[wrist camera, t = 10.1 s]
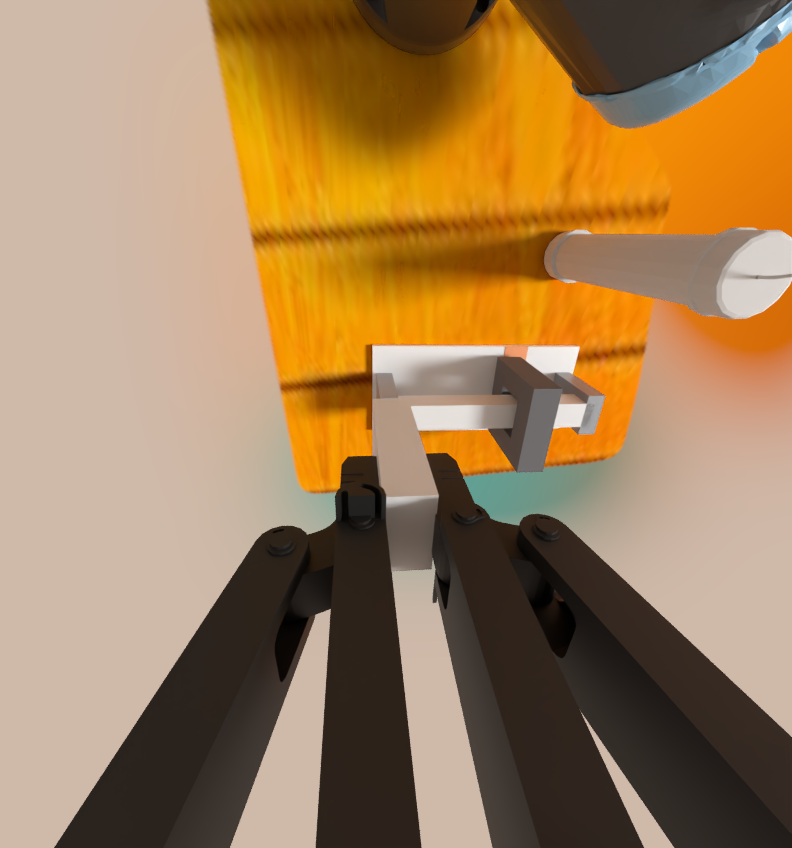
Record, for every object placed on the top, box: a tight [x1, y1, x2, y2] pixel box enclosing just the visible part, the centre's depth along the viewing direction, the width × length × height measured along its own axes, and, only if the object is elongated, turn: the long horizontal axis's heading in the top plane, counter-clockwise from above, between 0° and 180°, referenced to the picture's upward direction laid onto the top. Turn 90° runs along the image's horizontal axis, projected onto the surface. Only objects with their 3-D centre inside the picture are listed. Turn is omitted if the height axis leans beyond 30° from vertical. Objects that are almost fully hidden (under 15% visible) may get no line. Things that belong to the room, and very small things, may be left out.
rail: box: [372, 344, 605, 434], centre depth 47 cm, size 12×27×9 cm, turn 88°
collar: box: [488, 357, 563, 472], centre depth 45 cm, size 10×3×11 cm, turn 178°
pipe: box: [544, 228, 792, 319], centre depth 31 cm, size 6×6×30 cm
